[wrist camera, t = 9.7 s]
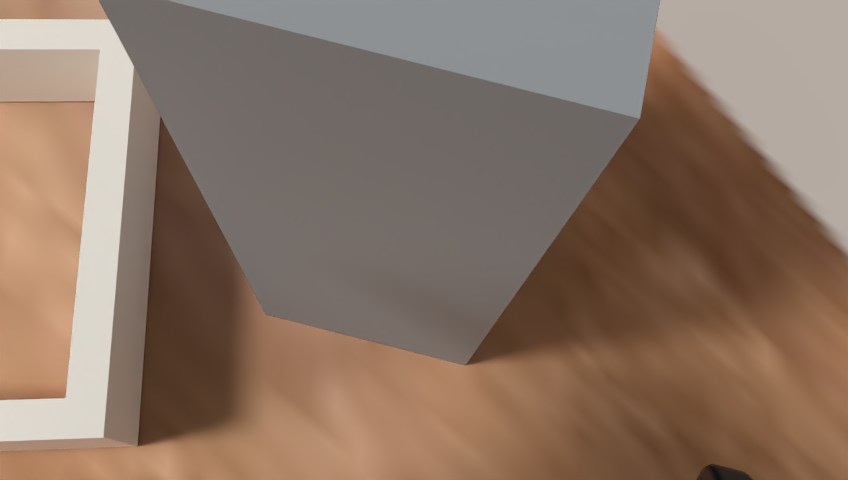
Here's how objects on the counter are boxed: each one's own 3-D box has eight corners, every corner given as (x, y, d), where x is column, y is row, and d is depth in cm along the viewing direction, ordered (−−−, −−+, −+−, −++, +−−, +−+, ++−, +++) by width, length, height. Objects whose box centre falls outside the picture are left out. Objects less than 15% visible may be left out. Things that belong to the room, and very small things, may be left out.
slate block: (465, 365, 19) (640, 118, 7) (265, 314, 19) (88, -19, 7) (507, 180, 21) (708, -285, 9) (322, 134, 21) (259, -394, 9)
